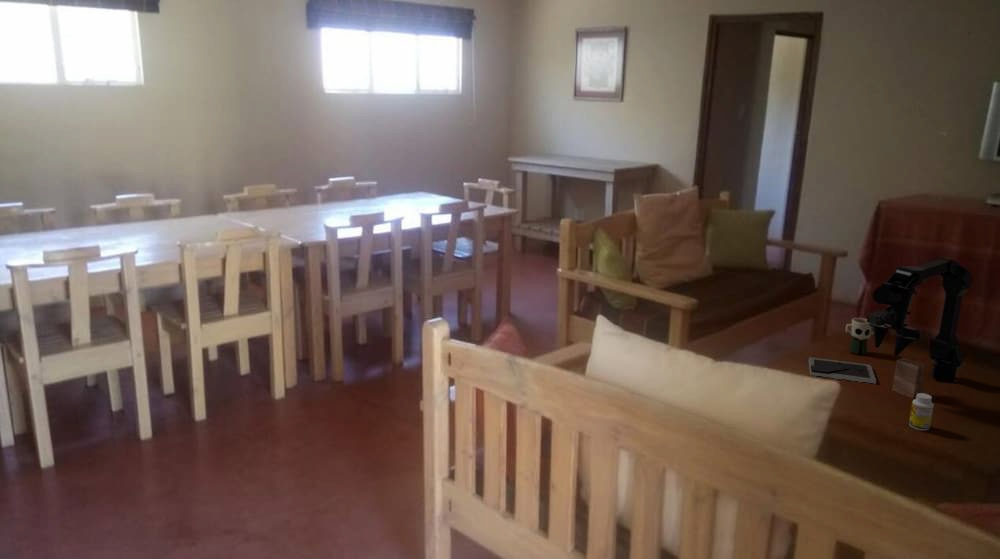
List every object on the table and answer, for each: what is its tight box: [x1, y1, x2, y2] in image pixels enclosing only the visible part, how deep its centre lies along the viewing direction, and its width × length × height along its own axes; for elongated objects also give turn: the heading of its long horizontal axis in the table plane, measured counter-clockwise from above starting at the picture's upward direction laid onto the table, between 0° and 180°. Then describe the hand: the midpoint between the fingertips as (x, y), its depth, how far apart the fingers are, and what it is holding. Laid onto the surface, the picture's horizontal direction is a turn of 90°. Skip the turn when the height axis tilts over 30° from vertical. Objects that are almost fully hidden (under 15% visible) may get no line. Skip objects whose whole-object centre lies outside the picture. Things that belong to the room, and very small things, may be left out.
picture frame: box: [808, 356, 877, 385], centre depth 264 cm, size 16×3×21 cm
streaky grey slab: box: [891, 357, 925, 399], centre depth 245 cm, size 4×7×11 cm, turn 33°
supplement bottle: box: [908, 392, 935, 431], centre depth 220 cm, size 6×6×10 cm
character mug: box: [845, 317, 874, 355], centre depth 282 cm, size 11×7×13 cm, turn 79°
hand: (885, 351), depth 243 cm, fingers open, 9 cm apart
